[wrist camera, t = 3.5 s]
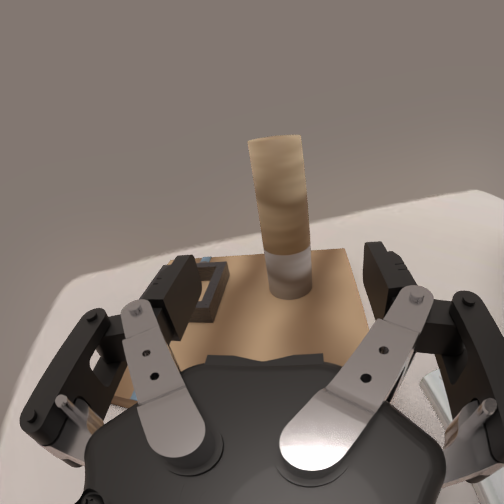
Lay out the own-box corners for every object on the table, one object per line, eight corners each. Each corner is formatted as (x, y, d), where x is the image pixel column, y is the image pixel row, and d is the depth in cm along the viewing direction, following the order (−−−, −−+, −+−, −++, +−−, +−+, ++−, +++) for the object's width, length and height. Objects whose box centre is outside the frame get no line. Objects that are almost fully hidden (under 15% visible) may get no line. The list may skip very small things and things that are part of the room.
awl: (311, 273, 24) (299, 133, 19) (313, 298, 21) (301, 137, 16) (270, 275, 25) (251, 138, 19) (267, 300, 22) (243, 144, 16)
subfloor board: (344, 261, 28) (344, 247, 27) (380, 419, 12) (386, 406, 12) (174, 271, 31) (170, 258, 31) (97, 399, 16) (86, 386, 15)
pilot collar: (230, 275, 26) (227, 261, 25) (213, 322, 20) (208, 307, 20) (167, 277, 27) (163, 265, 27) (140, 320, 21) (133, 306, 21)
